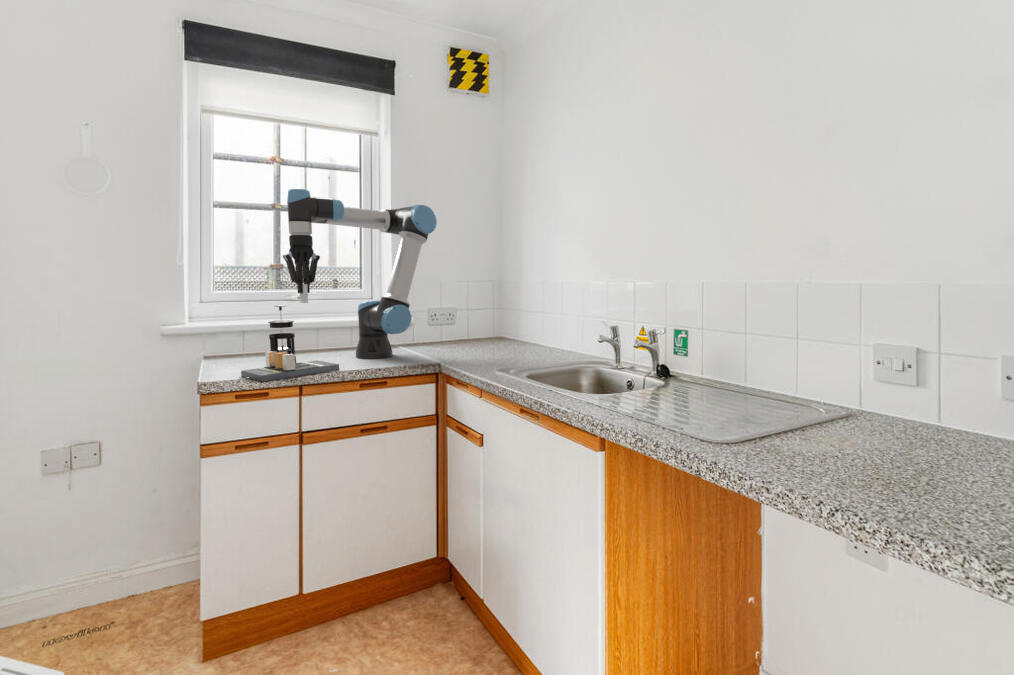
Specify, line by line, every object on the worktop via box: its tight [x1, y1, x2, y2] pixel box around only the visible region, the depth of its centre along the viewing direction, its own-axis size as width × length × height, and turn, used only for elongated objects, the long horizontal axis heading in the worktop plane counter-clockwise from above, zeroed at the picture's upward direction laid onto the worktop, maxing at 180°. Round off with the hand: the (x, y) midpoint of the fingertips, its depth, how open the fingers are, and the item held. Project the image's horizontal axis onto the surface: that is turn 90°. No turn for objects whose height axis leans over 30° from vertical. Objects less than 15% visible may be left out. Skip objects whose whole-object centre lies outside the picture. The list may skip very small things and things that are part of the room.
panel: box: [240, 350, 340, 383], centre depth 184 cm, size 28×15×8 cm, turn 140°
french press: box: [267, 304, 297, 363], centre depth 199 cm, size 12×9×23 cm
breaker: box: [274, 351, 287, 368], centre depth 181 cm, size 3×2×5 cm
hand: (304, 302), depth 186 cm, fingers closed
